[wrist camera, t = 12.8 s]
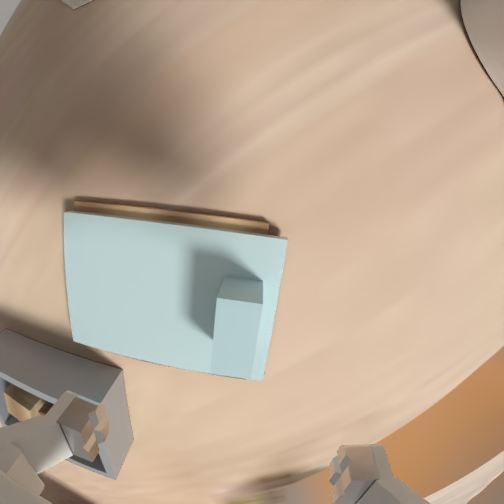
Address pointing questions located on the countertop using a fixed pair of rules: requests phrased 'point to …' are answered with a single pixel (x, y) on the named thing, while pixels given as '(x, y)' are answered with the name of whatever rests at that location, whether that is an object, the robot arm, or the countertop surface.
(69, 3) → the supplement box
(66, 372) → the tub
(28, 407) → the block
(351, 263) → the countertop surface
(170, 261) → the lid
